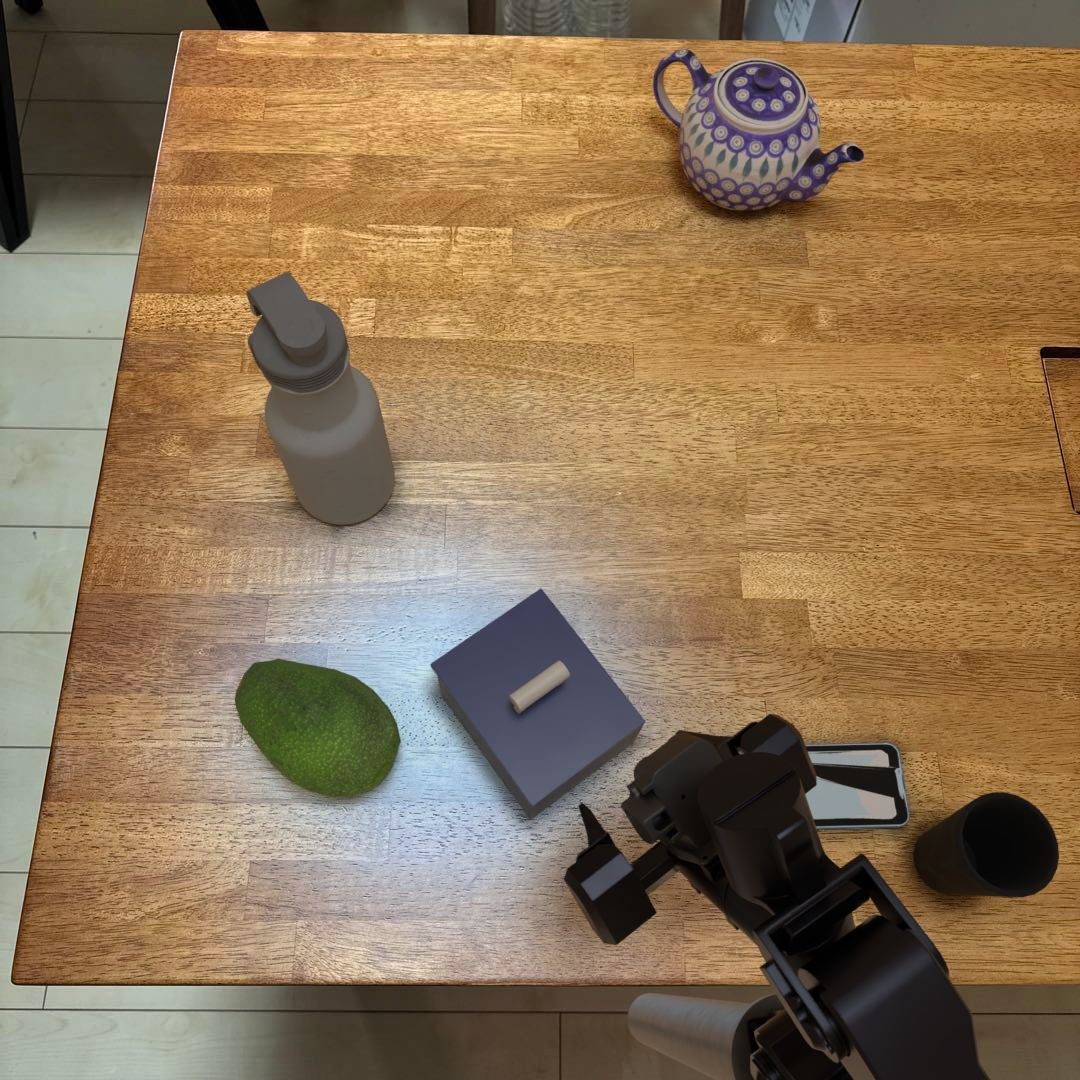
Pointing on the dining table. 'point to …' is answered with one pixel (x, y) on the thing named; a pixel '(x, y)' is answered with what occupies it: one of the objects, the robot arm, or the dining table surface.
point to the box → (506, 778)
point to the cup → (989, 849)
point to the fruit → (318, 726)
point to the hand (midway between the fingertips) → (631, 771)
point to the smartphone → (857, 786)
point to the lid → (537, 696)
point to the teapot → (750, 134)
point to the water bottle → (319, 406)
